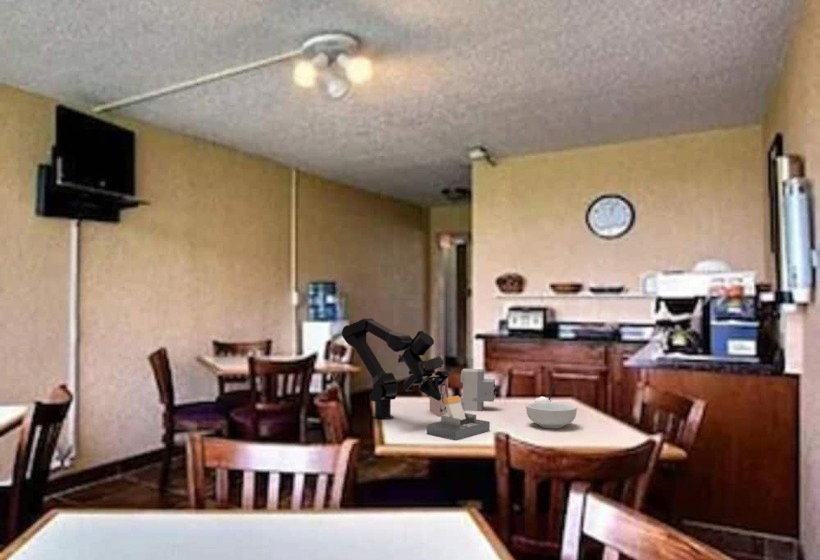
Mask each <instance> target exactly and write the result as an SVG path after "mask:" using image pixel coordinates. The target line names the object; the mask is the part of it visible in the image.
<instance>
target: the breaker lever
mask: <svg viewBox="0 0 820 560" xmlns="http://www.w3.org/2000/svg"><path fill="white" fill-rule="evenodd" d="M460 401H461V397H460V396H459V395H454V396H453V395H452V396H448V398H445V399H443V402H444V405H445V406H446V409H447V412H446V413H447V414H448V417H453V418H458V419H460V422H462V421H466V417H465V414H464V413H465V410H463V408H462V405H461V403H460Z"/></svg>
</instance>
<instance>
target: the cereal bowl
mask: <svg viewBox="0 0 820 560" xmlns="http://www.w3.org/2000/svg"><path fill="white" fill-rule="evenodd" d="M525 409H526V414H527V415H526V416H527V417H528V419H529V420H530V421H532V422H533V423H535V424H538V425H539V426H540V427H541V428H545V429H553V430H554V429H561V428H563V427H564V426H566V425H569V424H571V423H573V422H574V421H575V419H576V417H577V406H576V405H573V404H571V403H566V402H565V403H563V402H556V401H555V402H552V401H551V402H538V403H535V402H532V403H528V404H526V407H525Z"/></svg>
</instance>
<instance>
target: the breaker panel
mask: <svg viewBox="0 0 820 560" xmlns="http://www.w3.org/2000/svg"><path fill="white" fill-rule="evenodd" d="M464 414H465V417H466V421H462V422H460V419H458V418H453V417H449V416H447V415H446V416H445V415H441V416H440V421H437V422H433V423H428V424H426V435H430V436H433V437H439V438H445V439H449V440H454V441H457V440H461V439H465V438H468V437H472V436H475V435H479V434H483V433H485V432H489V431H491V430H490V427H491V423H490V421H487V420H482V419H477V414H474V413H473V414H472V413H468V412H464Z"/></svg>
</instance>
